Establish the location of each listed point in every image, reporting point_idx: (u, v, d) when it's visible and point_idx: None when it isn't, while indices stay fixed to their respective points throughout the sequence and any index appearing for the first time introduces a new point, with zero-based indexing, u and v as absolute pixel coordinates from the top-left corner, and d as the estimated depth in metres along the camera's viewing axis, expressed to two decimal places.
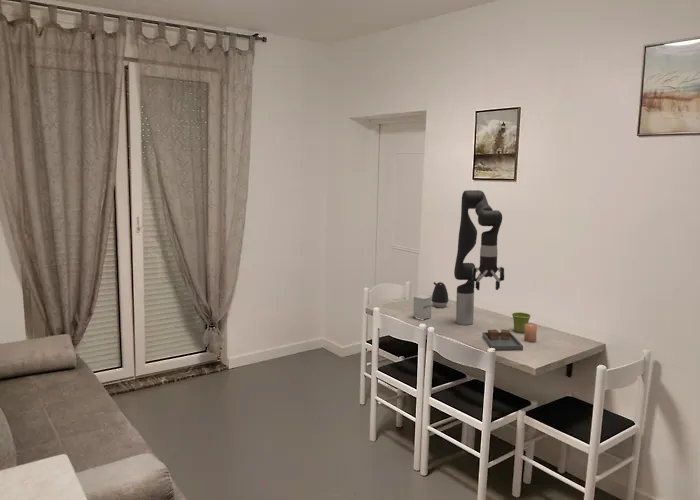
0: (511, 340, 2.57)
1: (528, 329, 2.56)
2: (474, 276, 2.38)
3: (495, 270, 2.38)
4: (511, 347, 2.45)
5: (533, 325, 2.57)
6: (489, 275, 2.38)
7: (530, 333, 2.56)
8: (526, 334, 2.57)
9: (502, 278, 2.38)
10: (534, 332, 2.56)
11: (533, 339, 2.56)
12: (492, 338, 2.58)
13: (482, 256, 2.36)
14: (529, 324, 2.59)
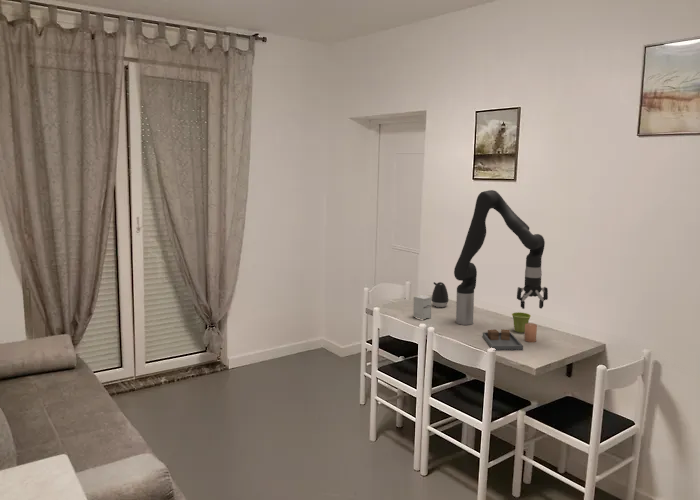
0: (511, 340, 2.57)
1: (528, 329, 2.56)
2: (519, 296, 2.55)
3: (539, 290, 2.54)
4: (511, 347, 2.45)
5: (533, 325, 2.57)
6: (533, 295, 2.55)
7: (530, 333, 2.56)
8: (526, 334, 2.57)
9: (546, 297, 2.55)
10: (534, 332, 2.56)
11: (533, 339, 2.56)
12: (492, 338, 2.58)
13: (527, 277, 2.52)
14: (530, 324, 2.59)
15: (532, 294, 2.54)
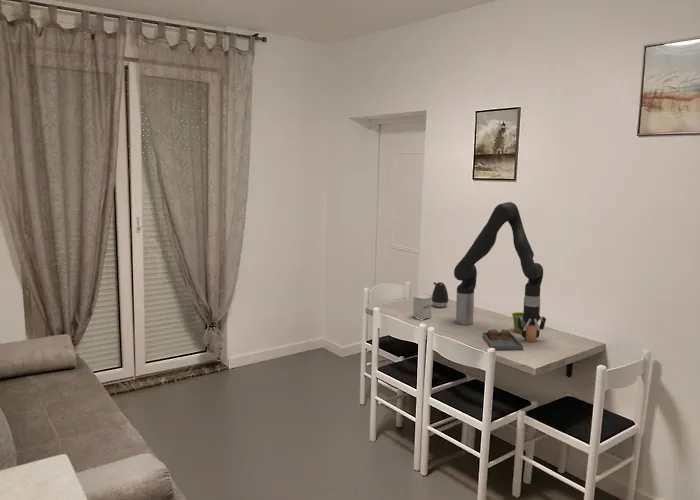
0: (511, 340, 2.57)
1: (528, 329, 2.56)
2: (520, 325, 2.57)
3: (538, 318, 2.56)
4: (511, 347, 2.45)
5: (533, 325, 2.57)
6: (532, 323, 2.57)
7: (530, 332, 2.56)
8: (526, 334, 2.57)
9: (542, 327, 2.57)
10: (534, 332, 2.56)
11: (533, 339, 2.56)
12: (492, 338, 2.58)
13: (526, 306, 2.55)
14: None
15: (531, 322, 2.57)
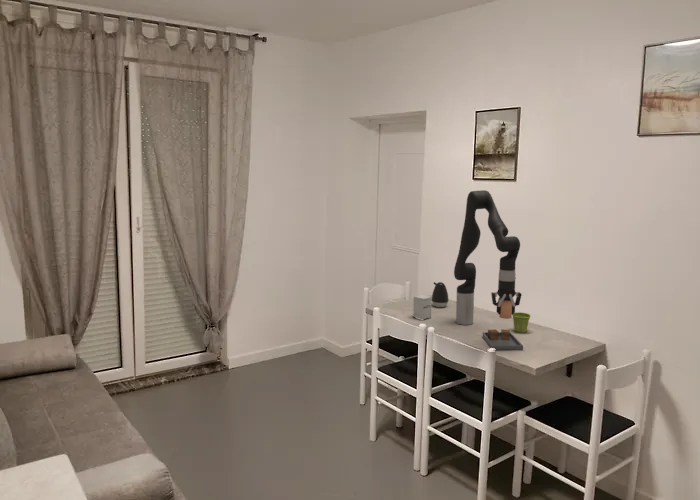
0: (511, 340, 2.57)
1: (503, 305, 2.46)
2: (495, 301, 2.47)
3: (513, 294, 2.46)
4: (511, 347, 2.45)
5: (508, 301, 2.47)
6: (507, 299, 2.47)
7: (505, 308, 2.46)
8: (501, 310, 2.47)
9: (517, 303, 2.47)
10: (509, 308, 2.46)
11: (508, 315, 2.46)
12: (492, 338, 2.58)
13: (501, 280, 2.45)
14: (505, 300, 2.49)
15: (506, 298, 2.47)
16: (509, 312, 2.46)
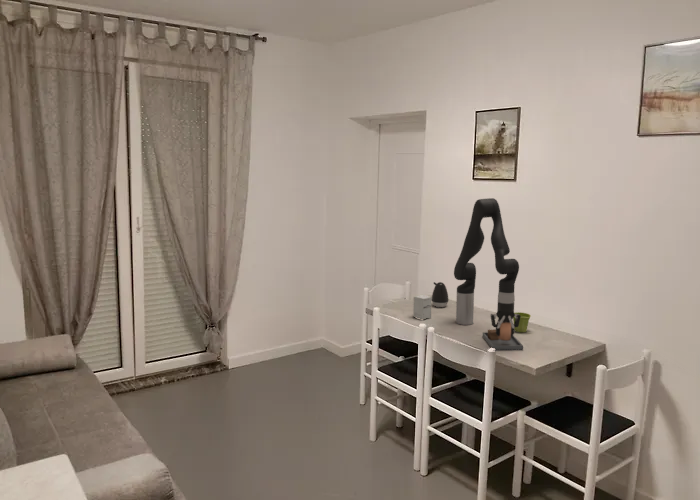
0: (511, 340, 2.57)
1: (502, 327, 2.48)
2: (494, 323, 2.48)
3: (512, 316, 2.48)
4: (511, 347, 2.45)
5: (507, 322, 2.48)
6: (506, 320, 2.48)
7: (504, 330, 2.47)
8: (500, 332, 2.49)
9: (516, 325, 2.49)
10: (508, 330, 2.47)
11: (507, 337, 2.48)
12: (492, 338, 2.58)
13: (500, 302, 2.46)
14: None
15: (505, 320, 2.48)
16: (508, 334, 2.48)
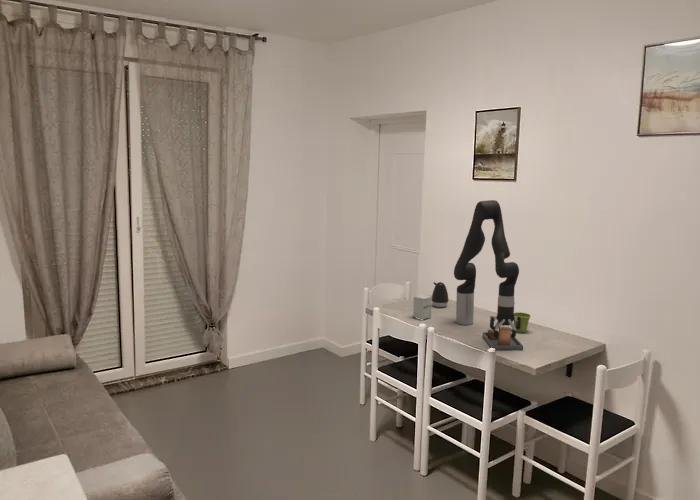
0: (511, 340, 2.57)
1: (501, 334, 2.48)
2: (492, 325, 2.49)
3: (512, 319, 2.48)
4: (511, 347, 2.45)
5: (507, 329, 2.49)
6: (506, 324, 2.49)
7: (503, 337, 2.48)
8: (500, 338, 2.50)
9: (518, 327, 2.49)
10: (508, 336, 2.48)
11: (507, 343, 2.49)
12: (492, 338, 2.58)
13: (500, 306, 2.47)
14: (503, 328, 2.51)
15: (505, 323, 2.49)
16: (508, 340, 2.48)
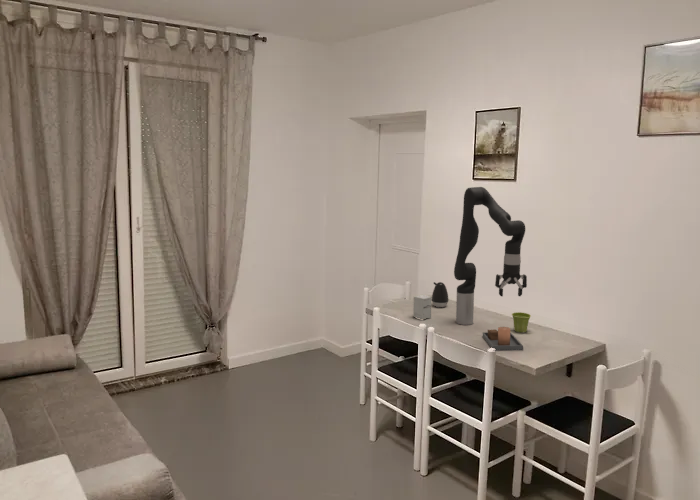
0: (511, 340, 2.57)
1: (501, 334, 2.48)
2: (498, 283, 2.49)
3: (518, 277, 2.49)
4: (511, 347, 2.45)
5: (506, 329, 2.49)
6: (512, 282, 2.49)
7: (503, 337, 2.48)
8: (500, 338, 2.49)
9: (525, 285, 2.49)
10: (508, 336, 2.48)
11: (507, 343, 2.49)
12: (492, 338, 2.58)
13: (506, 264, 2.47)
14: (503, 328, 2.51)
15: (511, 281, 2.49)
16: (507, 340, 2.48)
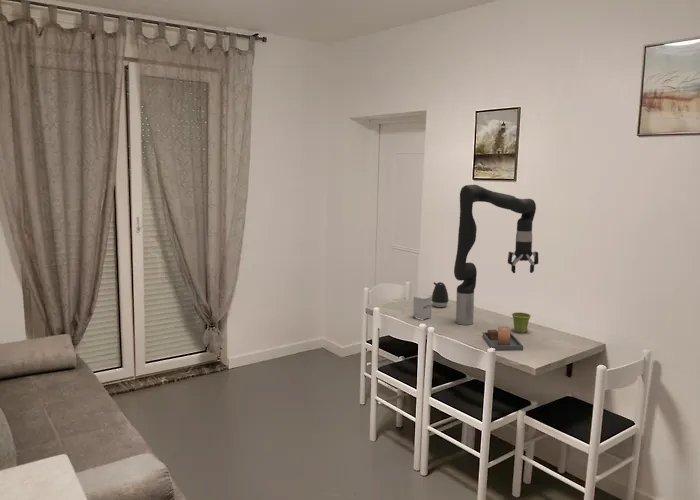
0: (511, 340, 2.57)
1: (501, 333, 2.48)
2: (510, 260, 2.56)
3: (530, 254, 2.56)
4: (511, 347, 2.45)
5: (506, 329, 2.49)
6: (524, 259, 2.56)
7: (503, 336, 2.48)
8: (500, 338, 2.49)
9: (536, 262, 2.56)
10: (508, 336, 2.48)
11: (507, 343, 2.49)
12: (492, 338, 2.58)
13: (518, 241, 2.54)
14: (503, 328, 2.51)
15: (523, 258, 2.56)
16: (508, 340, 2.49)
